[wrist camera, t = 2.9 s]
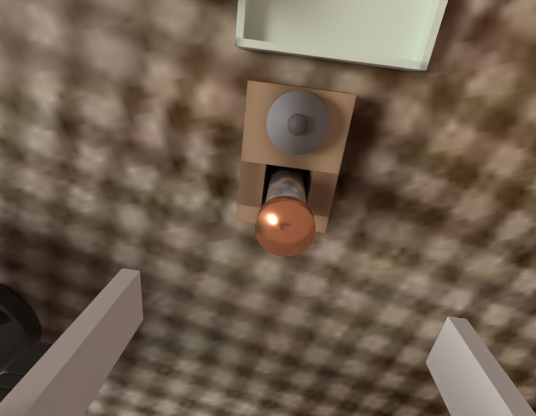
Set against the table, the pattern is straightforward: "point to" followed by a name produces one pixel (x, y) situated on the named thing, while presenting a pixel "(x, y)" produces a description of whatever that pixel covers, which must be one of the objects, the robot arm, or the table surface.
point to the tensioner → (293, 143)
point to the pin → (285, 215)
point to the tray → (343, 30)
